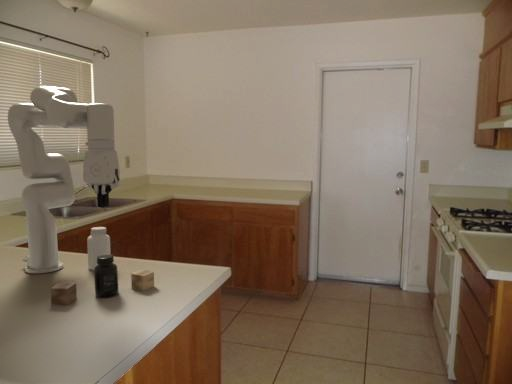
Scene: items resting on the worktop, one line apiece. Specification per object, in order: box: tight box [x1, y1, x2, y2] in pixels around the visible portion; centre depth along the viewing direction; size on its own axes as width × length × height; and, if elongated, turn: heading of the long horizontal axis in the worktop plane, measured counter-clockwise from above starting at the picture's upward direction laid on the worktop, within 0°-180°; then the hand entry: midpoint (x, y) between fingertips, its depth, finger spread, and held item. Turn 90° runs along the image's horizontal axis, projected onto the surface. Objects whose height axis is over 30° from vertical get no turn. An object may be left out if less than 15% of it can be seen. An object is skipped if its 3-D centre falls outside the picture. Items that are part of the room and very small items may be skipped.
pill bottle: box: [86, 226, 112, 271], centre depth 154 cm, size 8×8×15 cm
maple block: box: [130, 269, 155, 292], centre depth 135 cm, size 5×5×5 cm
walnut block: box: [50, 282, 77, 306], centre depth 122 cm, size 5×5×5 cm
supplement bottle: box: [93, 254, 119, 299], centre depth 128 cm, size 7×7×12 cm
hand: (103, 206), depth 126 cm, fingers closed
